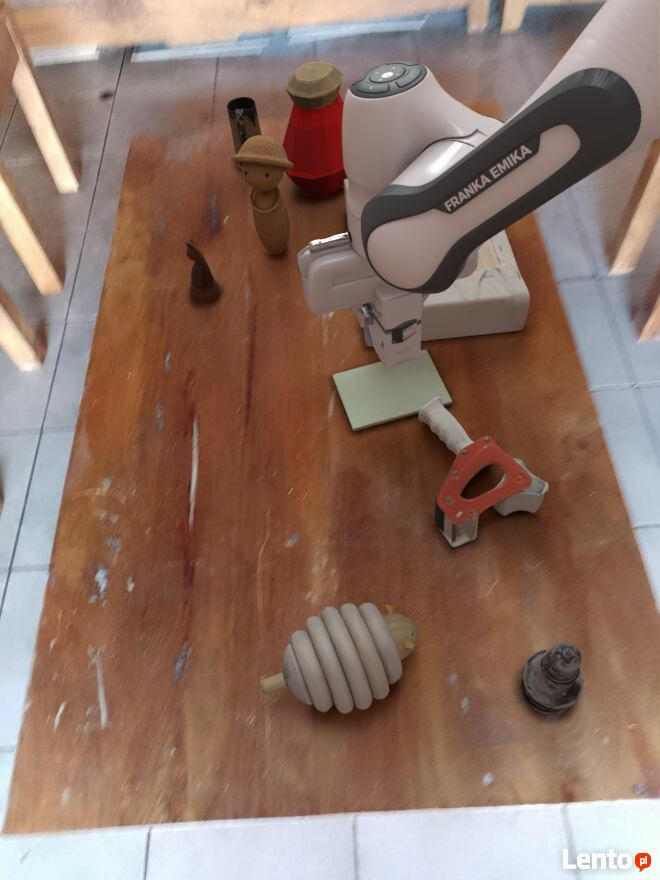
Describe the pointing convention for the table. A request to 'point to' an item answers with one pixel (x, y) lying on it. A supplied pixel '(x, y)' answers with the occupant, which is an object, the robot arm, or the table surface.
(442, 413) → the tape dispenser
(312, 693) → the toy sheep
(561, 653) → the dark grey tiered post
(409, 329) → the ink box
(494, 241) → the box
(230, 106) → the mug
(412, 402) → the mat
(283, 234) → the figurine
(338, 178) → the bottle
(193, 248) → the chess piece
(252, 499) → the table surface
